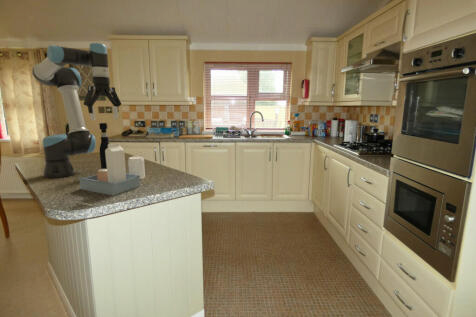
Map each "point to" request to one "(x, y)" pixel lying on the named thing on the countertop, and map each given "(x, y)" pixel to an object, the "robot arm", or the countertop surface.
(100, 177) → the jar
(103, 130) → the wine bottle
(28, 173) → the countertop surface
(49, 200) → the countertop surface
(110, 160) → the milk
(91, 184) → the tote
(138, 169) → the beverage can
